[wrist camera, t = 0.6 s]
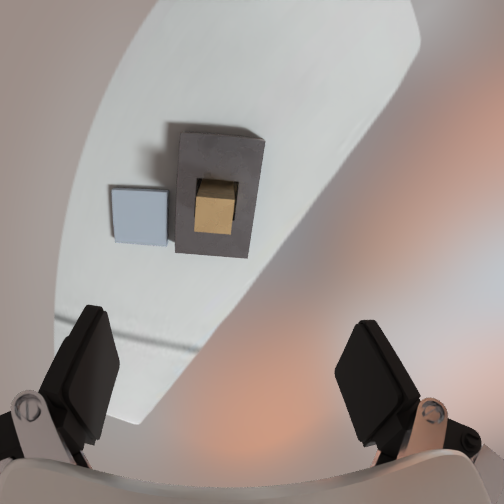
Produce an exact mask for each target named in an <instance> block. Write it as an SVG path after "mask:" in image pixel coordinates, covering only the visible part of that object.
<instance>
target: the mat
mask: <svg viewBox="0 0 504 504" xmlns="http://www.w3.org/2000/svg"><path fill="white" fill-rule="evenodd" d="M168 194H169V190H156V189H135V188H113V189H112V209H113V224H114V236H115V242H117V243H129V244H141V245H153V246H166V247H167V244H168Z"/></svg>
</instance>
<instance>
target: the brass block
mask: <svg viewBox="0 0 504 504" xmlns="http://www.w3.org/2000/svg"><path fill="white" fill-rule="evenodd" d="M234 202H235V196H234V181H227V180H216V179H204V178H203V179H202V182H201V185H200V188H199V191H198V193H197V196H196V210H195V227H194V232H206V233H218V234H230V235H231V227H232V219H233V211H234Z"/></svg>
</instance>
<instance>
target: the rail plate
mask: <svg viewBox="0 0 504 504" xmlns="http://www.w3.org/2000/svg"><path fill="white" fill-rule="evenodd" d="M264 147H265V140H264V139H260V138H252V137H244V136H235V135H225V134H214V133H201V132H182V133H181V134H180V145H179V158H178V173H177V192H176V221H175V253H185V254H198V255H210V256H222V257H235V258H247V259H248V252H249V245H250V239H251V232H252V226H253V219H254V212H255V206H256V199H257V193H258V186H259V179H260V173H261V166H262V160H263V153H264ZM198 178H204V179H216V180H227V181H237V182H238V185H237V193H236V201H235V210H234V214H233V219H232V227H231V235H230V234H218V233H206V232H194V227H195V210H196V196H197V189H198Z"/></svg>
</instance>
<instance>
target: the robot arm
mask: <svg viewBox="0 0 504 504" xmlns="http://www.w3.org/2000/svg"><path fill="white" fill-rule="evenodd" d="M119 366H120V362H119V357H118V354H117V350H116V347H115V343H114V339H113V335H112V331H111V327H110V323H109V319H108V314H107V312H106V311H103V308H102V307H100V306H93V305H86V307H85V308H84V310H83V312H82V313H81V315H80V317H79V318H78V320H77V322H76V324H75V326H74V327H73V329H72V331H71V333H70V335H69V336H67V337H66V338H65V339H64V341H63V343H62V344H61V346H60V348H59V350H58V352H57V354H56V356H55V358H54V360H53V362H52V364H51V366H50V368H49V370H48V372H47V374H46V376H45V378H44V381H43V383H42V385H41V387H40V389H39V392H36V391H33V390H25V391H22V392H20V393H19V394H17V395H16V397H14V399H13V401H12V404H11V411H10V412H7V413H5V414H2V415H0V504H496V503H497V501H498V499H499V497H500V494H501V492H502V490H503V488H504V459H502V458H501V457H500V456H499V455H497V454H496V453H495V452H494V451H492V450H491V449H490V448H489V447H488V446H486V445H485V444H483V445H482V446H481V438H480V436H479V434H478V433H477V432H476V431H475V430H474V429H472V428H470V427H467V426H465V425H462V424H460V423H458V422H456V421H453V420H451V419H449V418H448V413H447V409H446V408H445V406H444V405H443V403H441V402H440V401H439V400H437V399H435V398H425V399H423V400H422V401H420V399H419V397H420V394H419V392H418V390H417V388H416V387H415V385H414V383H413V381H412V380H411V378H410V376H409V374H408V373H407V371H406V369H405V367H404V366H403V364H402V362H401V361H400V359H399V357H398V356H397V354H396V352H395V351H394V349H393V348H392V346H391V344H390V343H389V341H388V339H387V338H386V336H385V335H384V333H383V332H382V330H381V328H380V327H379V325H378V324H377V322H376V321H375V320H361V321H360V322H359V323H358V324H356V325H355V327H354V329H353V331H352V334H351V336H350V338H349V340H348V342H347V345H346V347H345V349H344V351H343V353H342V355H341V357H340V360H339V362H338V364H337V366H336V368H335V378H336V380H337V383H338V385H339V388H340V391H341V393H342V396H343V399H344V401H345V404H346V407H347V410H348V412H349V415H350V418H351V421H352V423H353V426H354V428H355V432H356V435H357V438H358V440H359V441H360V442H362V443H363V446H364V447H368V446H371V445H375V444H376V445H377V448H378V450H377V452H376V455H375V457H374V459H373V461H372V464H371V466H370V468H367V469H364V470H360V471H356V472H352V473H348V474H344V475H339V476H335V477H330V478H325V479H320V480H314V481H308V482H301V483H295V484H287V485H276V486H265V487H247V488H246V487H245V488H213V487H193V486H180V485H171V484H163V483H155V482H149V481H143V480H137V479H132V478H127V477H122V476H117V475H113V474H108V473H104V472H100V471H96V470H93V469H92V467H91V465H90V464H89V462H88V460H87V458H86V457H85V455H84V453H83V451H82V450H83V448H84V443H87V444H90V445H94V444H95V441H96V439H97V440H99V439H100V436H101V432H102V428H103V424H104V420H105V416H106V412H107V409H108V405H109V401H110V398H111V394H112V391H113V387H114V384H115V380H116V377H117V374H118V371H119Z"/></svg>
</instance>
